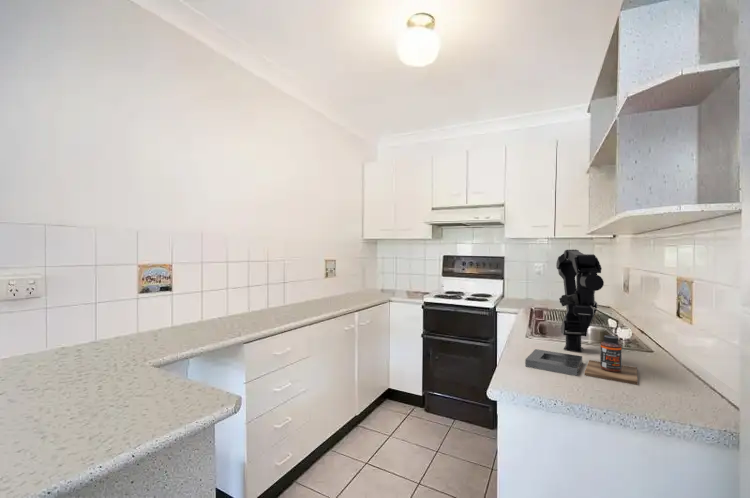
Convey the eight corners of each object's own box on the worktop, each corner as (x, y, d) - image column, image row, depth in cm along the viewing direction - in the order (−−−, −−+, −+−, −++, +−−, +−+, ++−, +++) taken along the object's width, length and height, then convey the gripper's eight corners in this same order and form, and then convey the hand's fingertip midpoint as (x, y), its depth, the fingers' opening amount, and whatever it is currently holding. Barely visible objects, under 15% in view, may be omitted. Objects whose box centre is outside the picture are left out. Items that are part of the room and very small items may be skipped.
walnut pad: (589, 362, 126) (589, 359, 126) (636, 370, 118) (636, 367, 118) (584, 375, 113) (584, 372, 113) (637, 385, 105) (637, 381, 105)
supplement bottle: (605, 372, 113) (605, 338, 113) (597, 366, 119) (596, 333, 119) (625, 373, 112) (625, 338, 112) (616, 367, 118) (615, 334, 118)
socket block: (535, 355, 135) (535, 349, 136) (582, 363, 126) (582, 356, 126) (525, 366, 123) (525, 359, 123) (576, 375, 113) (576, 368, 113)
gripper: (564, 284, 139) (565, 323, 139) (556, 288, 124) (557, 331, 124) (597, 286, 133) (597, 326, 133) (592, 290, 118) (593, 336, 118)
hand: (585, 329), depth 127 cm, fingers open, 9 cm apart
